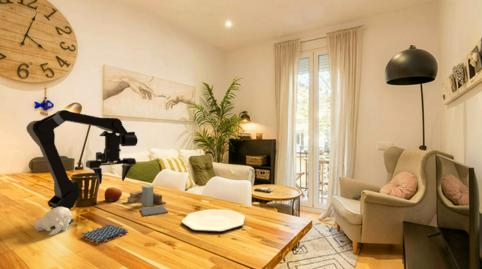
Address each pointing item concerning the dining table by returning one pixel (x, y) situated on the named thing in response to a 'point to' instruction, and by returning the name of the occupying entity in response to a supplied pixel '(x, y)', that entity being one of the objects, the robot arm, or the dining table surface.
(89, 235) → the woven mat
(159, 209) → the felt pad
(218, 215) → the plate
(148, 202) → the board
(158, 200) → the brown wooden block
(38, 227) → the animal skull
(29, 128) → the robot arm
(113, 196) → the fruit
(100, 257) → the dining table surface
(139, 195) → the offcut stack
